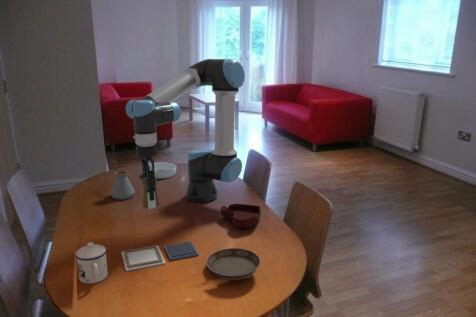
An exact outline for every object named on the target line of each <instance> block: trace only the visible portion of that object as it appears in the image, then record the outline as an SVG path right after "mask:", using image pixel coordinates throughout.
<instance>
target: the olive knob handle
mask: <svg viewBox="0 0 476 317" xmlns="http://www.w3.org/2000/svg"><path fill="white" fill-rule="evenodd" d="M157 182H158V180H157V179H156V178H155V185H157ZM141 184H142V186H143V196H142V197H143V198H142V207H143V208H144V209H148V197H147V193H146V191H147V190H148V188H147V180H146V177H144V178H143V177H142V180H141ZM155 199H156V208H157V207H159V206H160V202H159V197H158V192H157V190H156V191H155Z"/></svg>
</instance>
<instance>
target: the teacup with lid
mask: <svg viewBox="0 0 476 317" xmlns="http://www.w3.org/2000/svg"><path fill="white" fill-rule="evenodd" d="M75 258H76V263H77V272H78V279H79V280H80V282H82V283H83V284H88V285H89V284H97V283H100V282H102V281H103V280H105V279H106V278H107V276H108V274H109V273H108V263H107V262H108V261H107V248H106V247H105V246H104V245H102V244H97V243H96V244H95V243H94V242H91V241H90V242H87V244H86V245H85V246H82V247H79V249H78V250H77V251H76V252H75Z"/></svg>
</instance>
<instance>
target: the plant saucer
mask: <svg viewBox="0 0 476 317" xmlns="http://www.w3.org/2000/svg"><path fill="white" fill-rule="evenodd" d="M260 265H261V258H260V256H259V255H258V254H257V253H256V252H253V251H251V250H250V249H245V248H240V247H239V248H238V247H236V248H235V247H234V248H233V247H231V248H224V249H223V248H222V249H220V250H217V251H215V252H213V253H211V254H210V255H209V256H208V257H207V259H206V266H207V268H208V269H209V270H210V272H212V274H214V275H215V276H217V277H218V278H220V279H223V280H228V281H229V280H231V281H234V280H235V281H236V280H237V281H238V280H244V279H245V278H248V277H250V276H252V275H253V274H254V273H255V272H256V271H257V270H258V268H259V267H260Z"/></svg>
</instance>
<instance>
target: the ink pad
mask: <svg viewBox="0 0 476 317" xmlns="http://www.w3.org/2000/svg"><path fill="white" fill-rule="evenodd" d="M164 249H165V253H166V254H167V256H168V258H169V261H176V260H181V259H186V258H187V259H188V258H192V257H198V256H199V252H198V250H197V248H196V247H195V245H194V243H193V242H192V241H191V240H189V241H184V242H177V243H172V244H166V245H165V244H164Z"/></svg>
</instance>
